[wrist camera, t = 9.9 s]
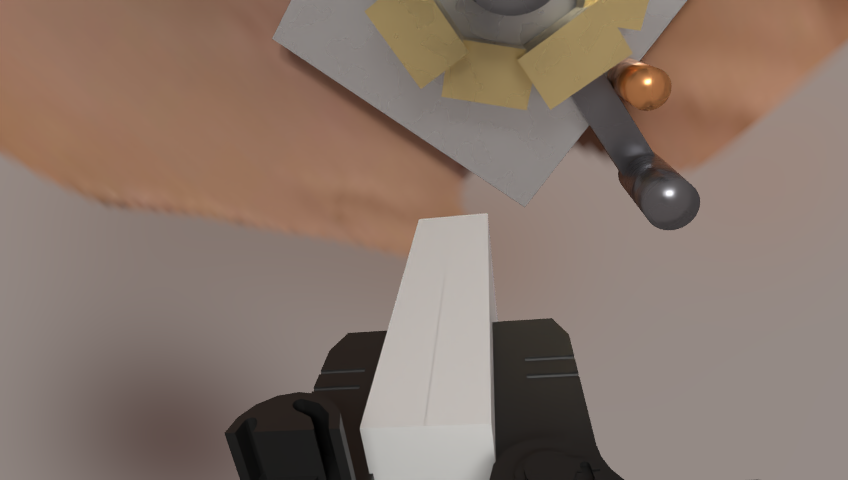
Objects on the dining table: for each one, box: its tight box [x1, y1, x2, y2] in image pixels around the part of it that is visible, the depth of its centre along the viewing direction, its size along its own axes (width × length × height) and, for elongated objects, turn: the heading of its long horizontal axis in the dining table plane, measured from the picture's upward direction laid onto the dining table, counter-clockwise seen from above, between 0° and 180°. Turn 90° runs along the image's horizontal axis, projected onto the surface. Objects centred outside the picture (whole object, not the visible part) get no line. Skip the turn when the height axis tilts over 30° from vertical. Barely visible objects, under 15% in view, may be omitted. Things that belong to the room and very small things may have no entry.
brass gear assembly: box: [364, 0, 700, 230], centre depth 28 cm, size 22×14×6 cm, turn 37°
